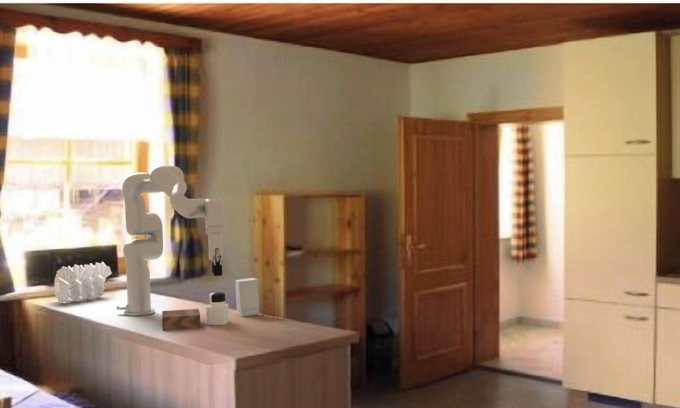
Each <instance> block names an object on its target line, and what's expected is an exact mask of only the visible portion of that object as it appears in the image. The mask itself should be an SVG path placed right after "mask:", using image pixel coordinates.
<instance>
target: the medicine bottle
mask: <svg viewBox="0 0 680 408" xmlns="http://www.w3.org/2000/svg"><path fill="white" fill-rule="evenodd" d="M208 298H209V305H208V306H206V308H205V309H206V312H205V313H206V325H207V326H225V325H226V324H229V322H230V312H229V311H230V309H229V308H230V307H229V306H230V305H229V304H228V303H226V293H224V292H219V291H218V292H211V293H210V294H209V297H208Z"/></svg>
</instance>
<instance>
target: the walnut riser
mask: <svg viewBox="0 0 680 408" xmlns="http://www.w3.org/2000/svg"><path fill="white" fill-rule="evenodd" d="M161 313H162V315H161V318H162V319H161V320H162V321H161V324H162V325H161V326H162V327H161V330H162V331H164V332H165V331H174V330H175V331H177V330H190V329H201V313H200V308H190V309H175V310H174V309H173V310H162V312H161Z"/></svg>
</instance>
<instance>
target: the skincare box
mask: <svg viewBox="0 0 680 408" xmlns="http://www.w3.org/2000/svg"><path fill="white" fill-rule="evenodd" d="M234 282H235V283H234V285H235V301H236V302H235V303H236V305H235V306H236V315H237V316H239V317H241V318H243V317H248V316H249V317H250V316H257V315H260V299H259V279H257V278H255V277H250V278H241V279H235V280H234Z"/></svg>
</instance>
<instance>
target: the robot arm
mask: <svg viewBox="0 0 680 408" xmlns="http://www.w3.org/2000/svg"><path fill="white" fill-rule="evenodd" d="M184 179H185V176H184V172H183V170H182V169H181V168H180V167H178V166H176V165H158V166H155V167H153V168H152V169H151V170H150V172H135V173H130V174H128V175H127V176H126V177H125V178H124V179H123V182H122V187H121V191H122V195H123V201H124V213H125V216H124V217H125V230H126V233H127V234H128V235H129V236H132V237H133V236H134V237H140V236H145V238H134V239H131V240H129V241H126V242H125V244H124V245H123V247H122V248H123V249H122V253H123V258H124V263H125V270H126V273H125V274H126V292H127V293H126V295H127V296H126V297H127V299H126V301H127V302H126V303H124V304H119V305H118V304H117V305H116V310H117V311H118V310H119V311H123V310H124V311H123V315H125V316H129V317H130V316H133V317H136V316H137V317H139V316H146V315H151V314H154V313H155V312H156V310H155V309H154V308H152V307H151V306H152V305H151V304H152V302H151V278H150V277H151V276H150V274H151V273H150V272H151V271H150V268H149V267H148V265H147V262H146V261H152V260H157V259H160V258H161V257H162V255H163V251H164V236H163V235H164V233H163V232H164V231H163V222H162V219H161V217H160V216H159V215H158V214H157V213H155V212H147V204H146V201H145V199H144V197H143V196H142V195H141V194H152V193H153V194H156V193H164V194H165V195H166V196H168V197H169V202H170V203H169V204H170V205H171V208H173V210H174V211H176V213H178V214H179V215H180V216H182V217H183V218H185V219H197V218H204V223H205V224H204V225H205V227H204V228H205V235H208V236H207V237H208V244H207V245H208V259H209V260H210V261H212V263H211V271H212V274H213V276H214V277H220V276H223V265H222V260H223V255H224V251H223V250H224V249H223V248H224V246H223V245H224V243H223V239H224V238H223V235H225V234H226V220H225V219H226V218H225V215H226V214H225V201H224V200H223V198H204V197H203V198H202V197H200V198H188V196H187V197H186V195H185V194H186V192H187V189H188V186H187V183H186V182H185V180H184Z"/></svg>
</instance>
